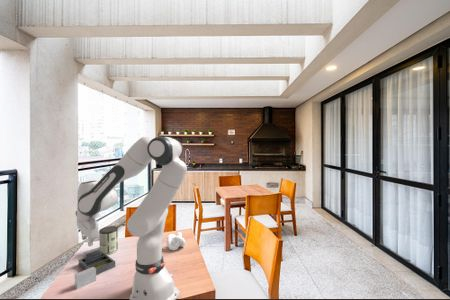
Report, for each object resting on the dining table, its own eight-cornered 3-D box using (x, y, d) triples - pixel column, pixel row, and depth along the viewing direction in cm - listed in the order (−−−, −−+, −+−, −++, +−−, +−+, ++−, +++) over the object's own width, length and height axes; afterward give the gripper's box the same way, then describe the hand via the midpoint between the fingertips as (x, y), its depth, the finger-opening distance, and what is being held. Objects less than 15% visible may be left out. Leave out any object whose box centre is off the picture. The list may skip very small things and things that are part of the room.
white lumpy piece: (166, 244, 142) (166, 231, 142) (184, 242, 145) (184, 229, 145) (166, 252, 131) (166, 238, 131) (185, 250, 134) (185, 236, 134)
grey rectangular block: (95, 280, 103) (95, 268, 103) (76, 289, 96) (76, 276, 96) (93, 278, 105) (93, 266, 105) (74, 286, 98) (74, 274, 98)
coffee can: (106, 246, 138) (106, 225, 138) (121, 247, 137) (121, 226, 137) (95, 254, 128) (95, 231, 127) (111, 255, 127) (111, 232, 126)
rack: (115, 266, 115) (115, 254, 115) (90, 277, 105) (90, 263, 105) (101, 256, 126) (101, 244, 125) (77, 265, 116) (77, 252, 116)
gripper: (102, 217, 97) (102, 247, 97) (88, 208, 110) (88, 234, 111) (87, 221, 92) (86, 252, 92) (74, 210, 106) (73, 237, 106)
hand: (87, 242), depth 102 cm, fingers open, 8 cm apart
